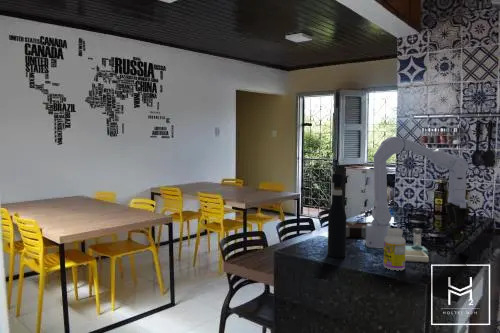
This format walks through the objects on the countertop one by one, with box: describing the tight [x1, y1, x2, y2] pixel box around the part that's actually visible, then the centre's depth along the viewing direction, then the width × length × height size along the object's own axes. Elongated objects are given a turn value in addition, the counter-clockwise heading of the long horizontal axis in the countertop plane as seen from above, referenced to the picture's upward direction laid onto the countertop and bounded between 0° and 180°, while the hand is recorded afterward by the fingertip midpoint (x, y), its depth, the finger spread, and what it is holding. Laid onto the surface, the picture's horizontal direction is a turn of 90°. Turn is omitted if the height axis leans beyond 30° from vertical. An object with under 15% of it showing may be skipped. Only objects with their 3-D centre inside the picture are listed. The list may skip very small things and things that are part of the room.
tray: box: [405, 250, 430, 263], centre depth 140 cm, size 8×8×2 cm
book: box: [346, 220, 372, 239], centre depth 178 cm, size 15×25×5 cm, turn 81°
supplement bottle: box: [383, 227, 407, 272], centre depth 129 cm, size 7×7×13 cm
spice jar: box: [412, 227, 423, 250], centre depth 147 cm, size 3×3×9 cm
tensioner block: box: [405, 245, 429, 256], centre depth 148 cm, size 8×6×2 cm
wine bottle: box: [327, 173, 347, 258], centre depth 143 cm, size 6×6×30 cm
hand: (456, 223), depth 152 cm, fingers open, 7 cm apart
